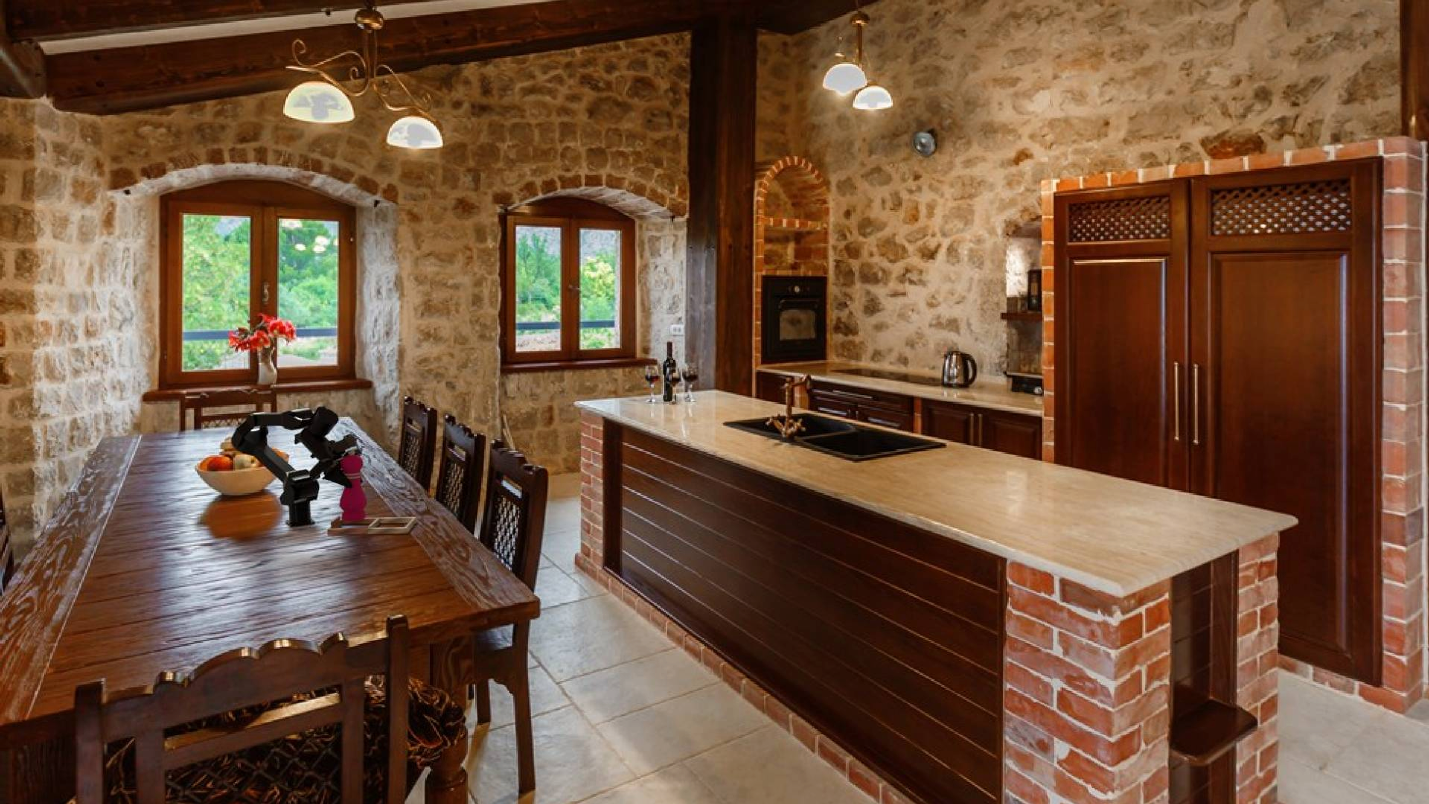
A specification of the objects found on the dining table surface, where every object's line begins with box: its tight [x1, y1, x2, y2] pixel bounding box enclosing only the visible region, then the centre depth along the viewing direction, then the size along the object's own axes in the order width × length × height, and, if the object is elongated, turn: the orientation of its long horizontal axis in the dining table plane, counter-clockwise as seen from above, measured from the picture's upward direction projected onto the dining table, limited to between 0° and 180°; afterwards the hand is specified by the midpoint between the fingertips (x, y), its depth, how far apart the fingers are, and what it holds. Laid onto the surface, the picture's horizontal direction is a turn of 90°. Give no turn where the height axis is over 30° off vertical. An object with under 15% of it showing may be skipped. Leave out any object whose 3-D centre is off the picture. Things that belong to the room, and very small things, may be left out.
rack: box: [326, 515, 418, 536], centre depth 234 cm, size 21×11×3 cm, turn 96°
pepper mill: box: [338, 449, 368, 521], centre depth 232 cm, size 7×7×20 cm
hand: (356, 485), depth 232 cm, fingers closed on pepper mill, 5 cm apart
